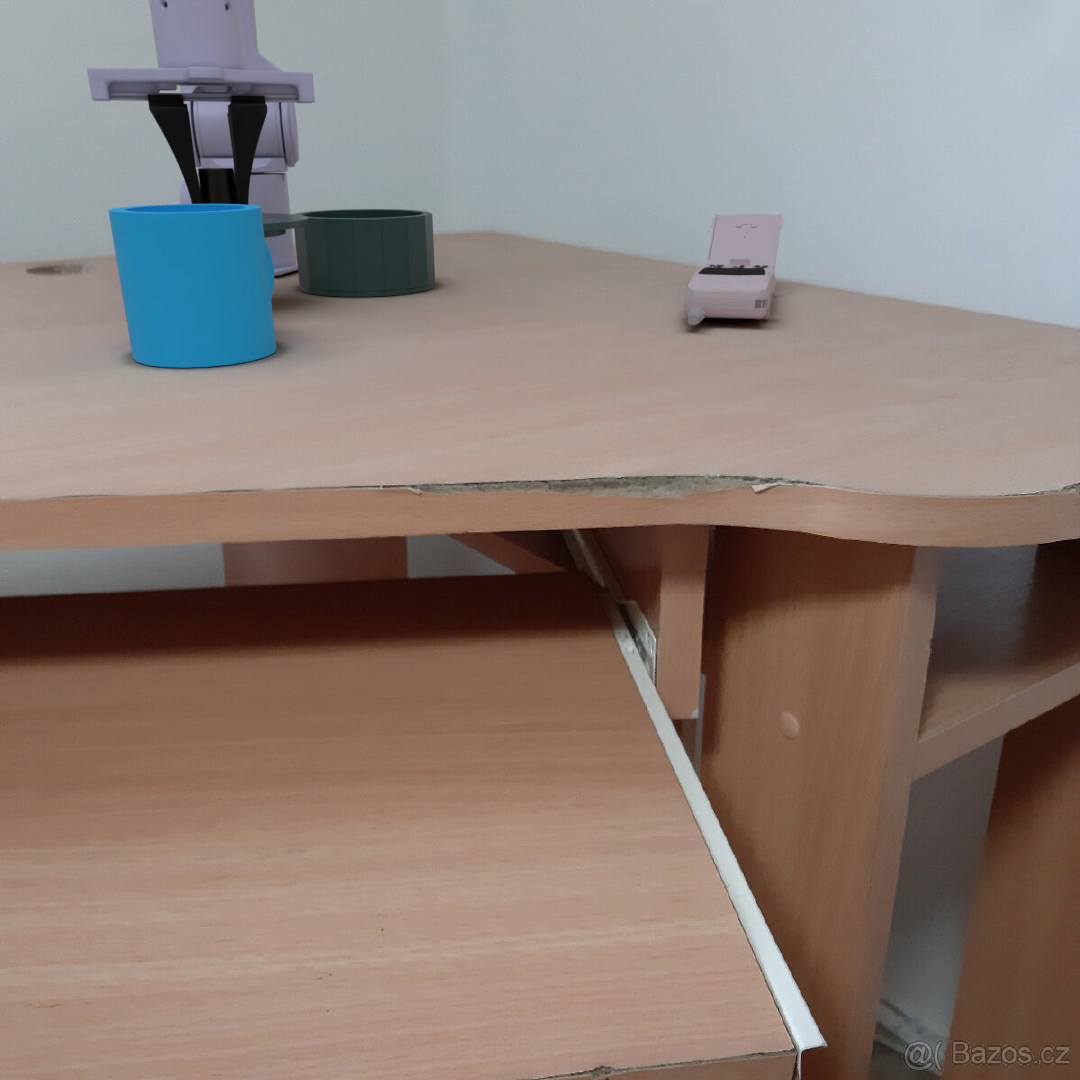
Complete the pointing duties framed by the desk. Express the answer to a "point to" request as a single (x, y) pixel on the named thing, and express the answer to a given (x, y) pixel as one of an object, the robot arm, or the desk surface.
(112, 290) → the desk surface
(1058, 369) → the desk surface
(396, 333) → the desk surface
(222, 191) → the lid
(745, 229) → the pale pink hinged device
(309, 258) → the tin
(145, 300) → the mug
